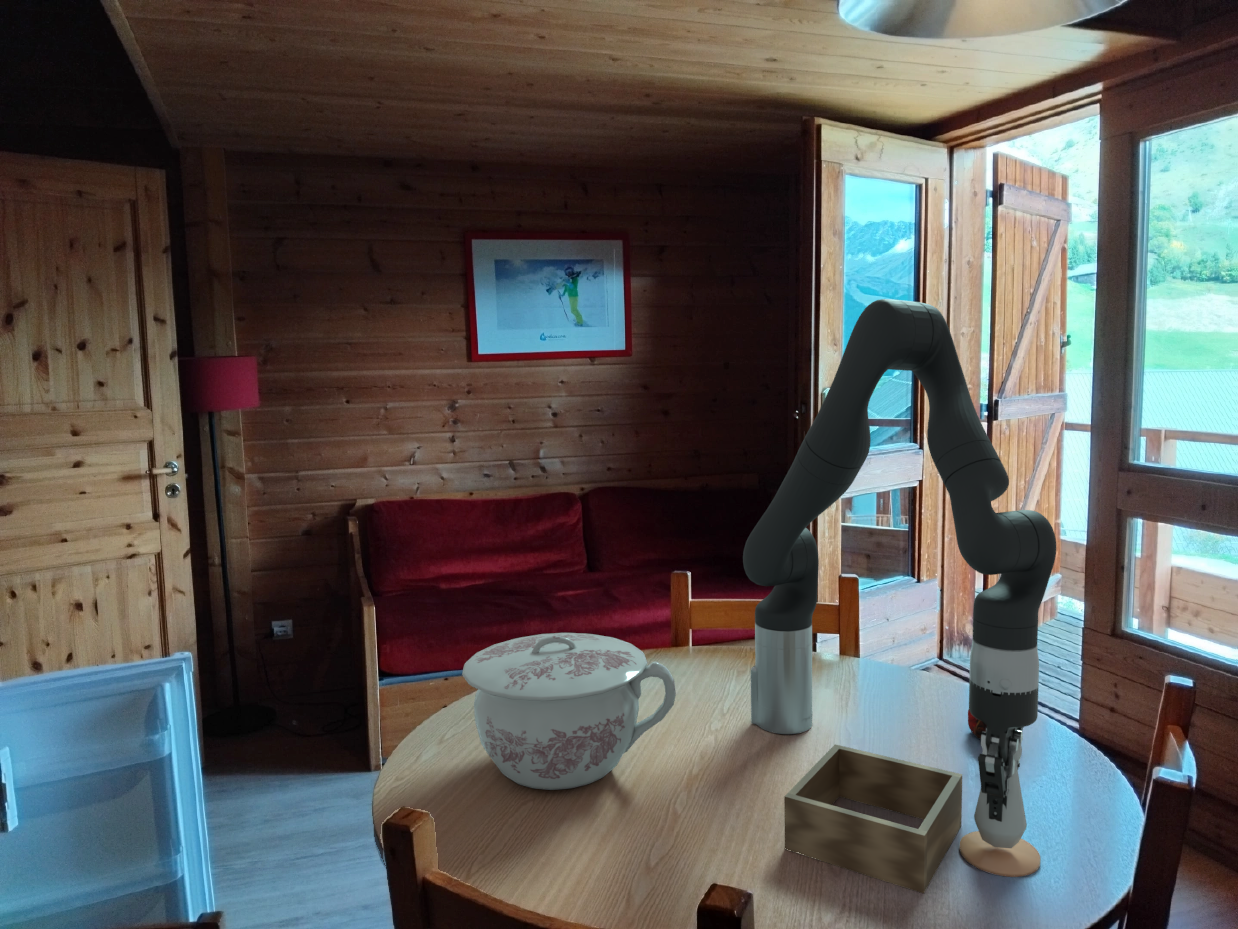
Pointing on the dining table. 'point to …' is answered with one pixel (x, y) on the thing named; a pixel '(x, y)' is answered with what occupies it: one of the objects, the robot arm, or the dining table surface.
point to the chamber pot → (561, 705)
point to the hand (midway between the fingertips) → (999, 814)
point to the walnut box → (867, 838)
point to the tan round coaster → (1000, 856)
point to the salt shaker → (1003, 814)
